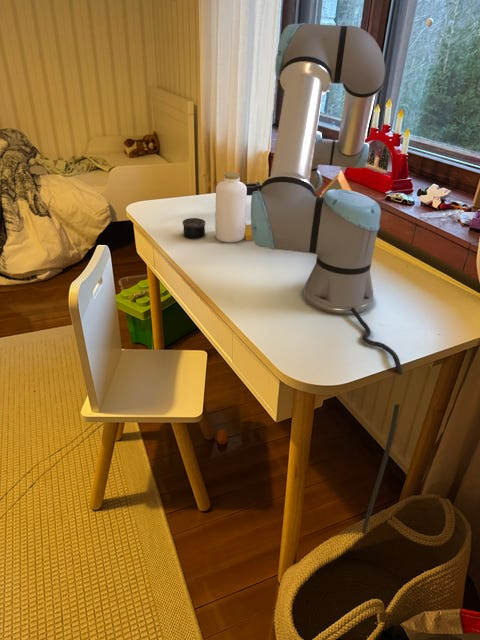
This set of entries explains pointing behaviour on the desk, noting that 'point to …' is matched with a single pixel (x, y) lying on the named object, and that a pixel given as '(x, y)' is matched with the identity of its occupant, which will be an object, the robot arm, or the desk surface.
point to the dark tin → (194, 228)
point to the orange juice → (337, 184)
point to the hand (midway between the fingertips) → (234, 201)
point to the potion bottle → (230, 208)
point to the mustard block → (248, 232)
